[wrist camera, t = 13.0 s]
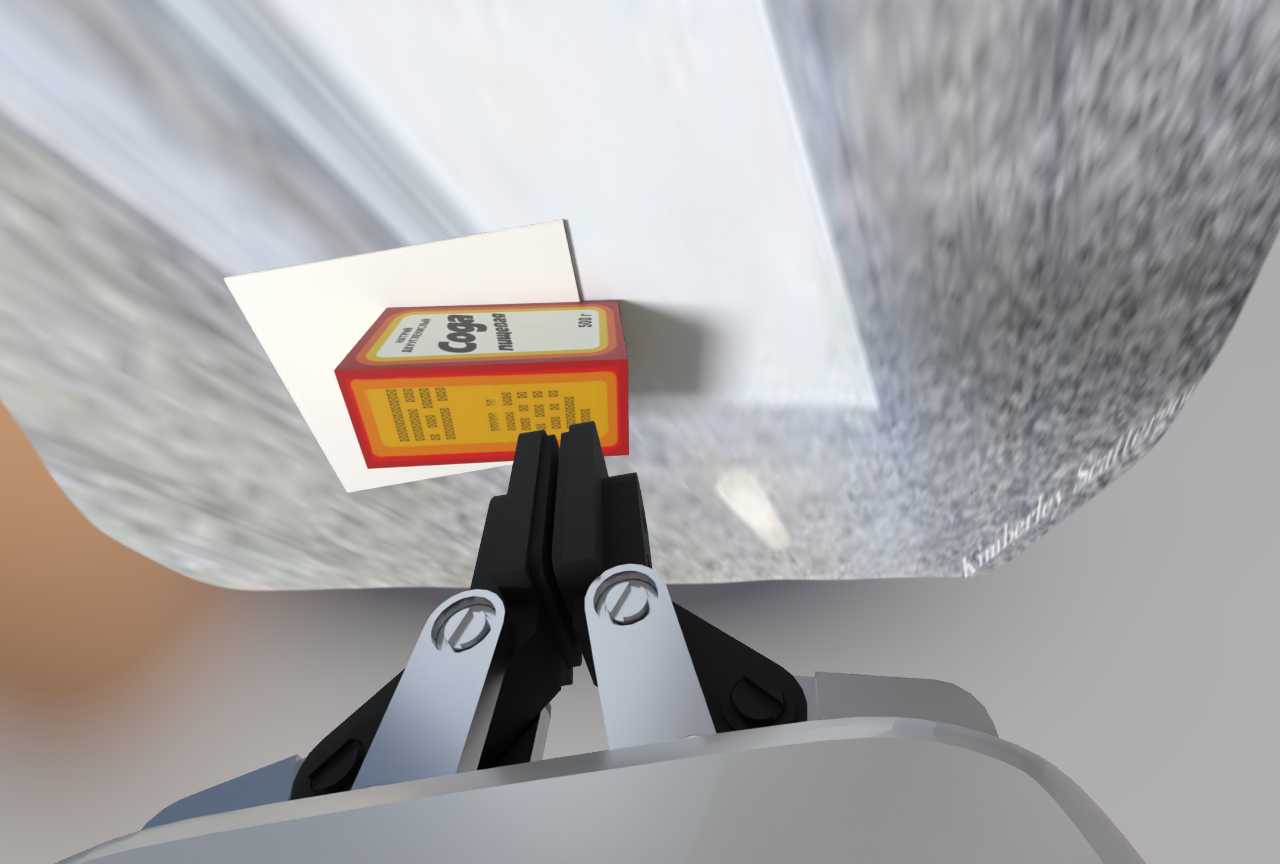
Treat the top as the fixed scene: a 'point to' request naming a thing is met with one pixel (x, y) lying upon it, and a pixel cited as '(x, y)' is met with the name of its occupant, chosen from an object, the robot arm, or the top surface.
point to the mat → (359, 293)
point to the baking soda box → (484, 380)
